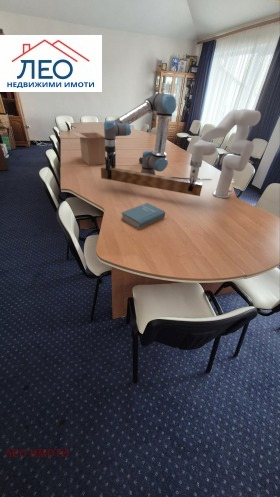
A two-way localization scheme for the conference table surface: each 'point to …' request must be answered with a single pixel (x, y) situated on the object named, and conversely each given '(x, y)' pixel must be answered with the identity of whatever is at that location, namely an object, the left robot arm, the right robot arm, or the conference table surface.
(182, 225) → the conference table surface
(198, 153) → the right robot arm
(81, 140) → the box
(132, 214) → the book
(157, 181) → the bar
